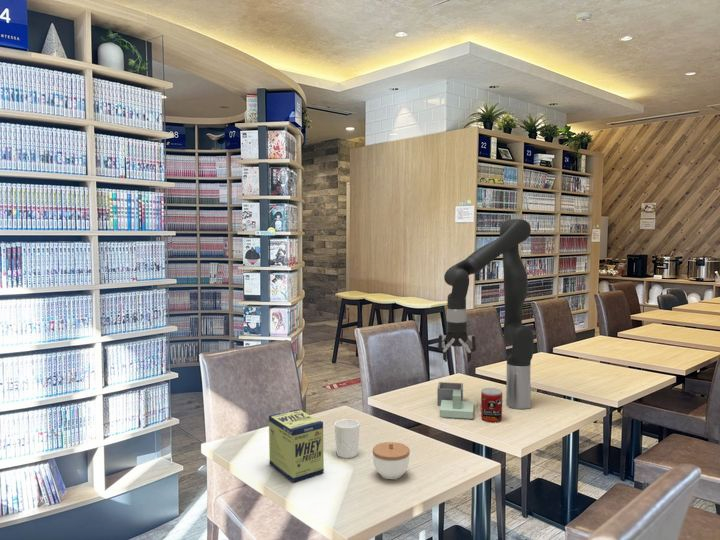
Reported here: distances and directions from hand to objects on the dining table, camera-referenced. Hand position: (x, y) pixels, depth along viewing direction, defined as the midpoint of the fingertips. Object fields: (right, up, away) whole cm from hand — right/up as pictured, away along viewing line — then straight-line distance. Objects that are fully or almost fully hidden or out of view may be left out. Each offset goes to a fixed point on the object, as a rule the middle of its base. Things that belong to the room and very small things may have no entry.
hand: (457, 361), depth 206 cm
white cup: (-42, -24, -36) cm, 60 cm away
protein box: (-57, -24, -46) cm, 77 cm away
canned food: (+12, -21, -5) cm, 25 cm away
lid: (0, -20, +1) cm, 20 cm away
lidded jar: (-28, -25, -51) cm, 63 cm away
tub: (0, -20, +15) cm, 24 cm away
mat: (0, -20, +1) cm, 21 cm away
